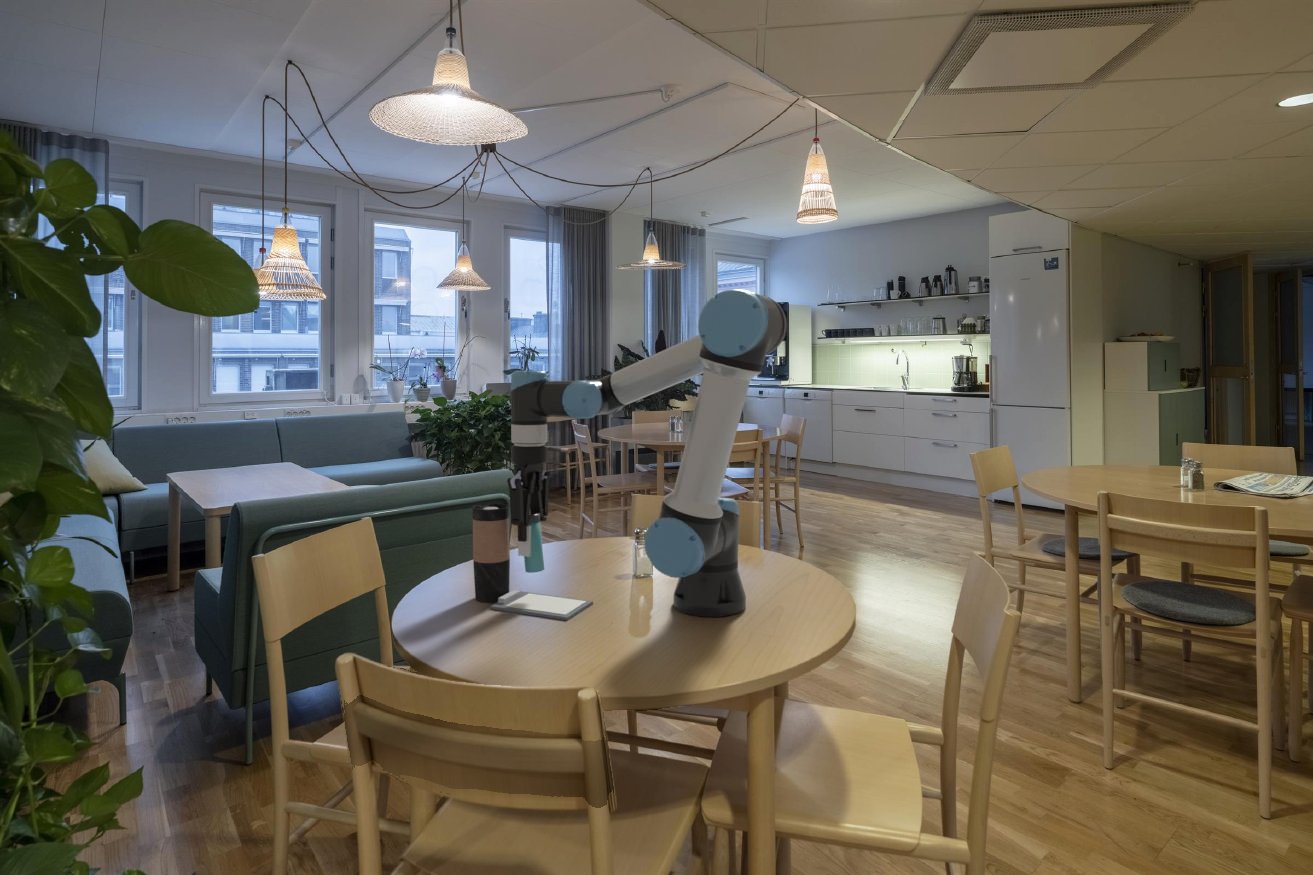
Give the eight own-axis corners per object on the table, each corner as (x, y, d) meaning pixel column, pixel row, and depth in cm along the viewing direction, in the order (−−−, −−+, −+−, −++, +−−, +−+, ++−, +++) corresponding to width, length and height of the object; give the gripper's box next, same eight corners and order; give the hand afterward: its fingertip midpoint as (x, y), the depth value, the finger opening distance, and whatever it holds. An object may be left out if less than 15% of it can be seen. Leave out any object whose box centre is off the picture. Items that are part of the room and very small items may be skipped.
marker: (548, 567, 157) (543, 512, 157) (538, 572, 154) (532, 516, 153) (531, 567, 159) (526, 512, 158) (520, 572, 155) (515, 516, 154)
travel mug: (501, 604, 154) (499, 510, 152) (467, 602, 155) (465, 509, 154) (516, 593, 161) (514, 503, 159) (483, 591, 163) (481, 502, 161)
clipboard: (592, 603, 155) (592, 596, 154) (567, 620, 144) (567, 612, 144) (519, 593, 161) (519, 586, 161) (490, 608, 151) (490, 601, 151)
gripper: (534, 439, 163) (535, 543, 165) (491, 447, 148) (492, 560, 150) (564, 441, 160) (564, 546, 163) (523, 449, 145) (524, 564, 147)
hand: (530, 553), depth 156 cm, fingers closed on marker, 3 cm apart
